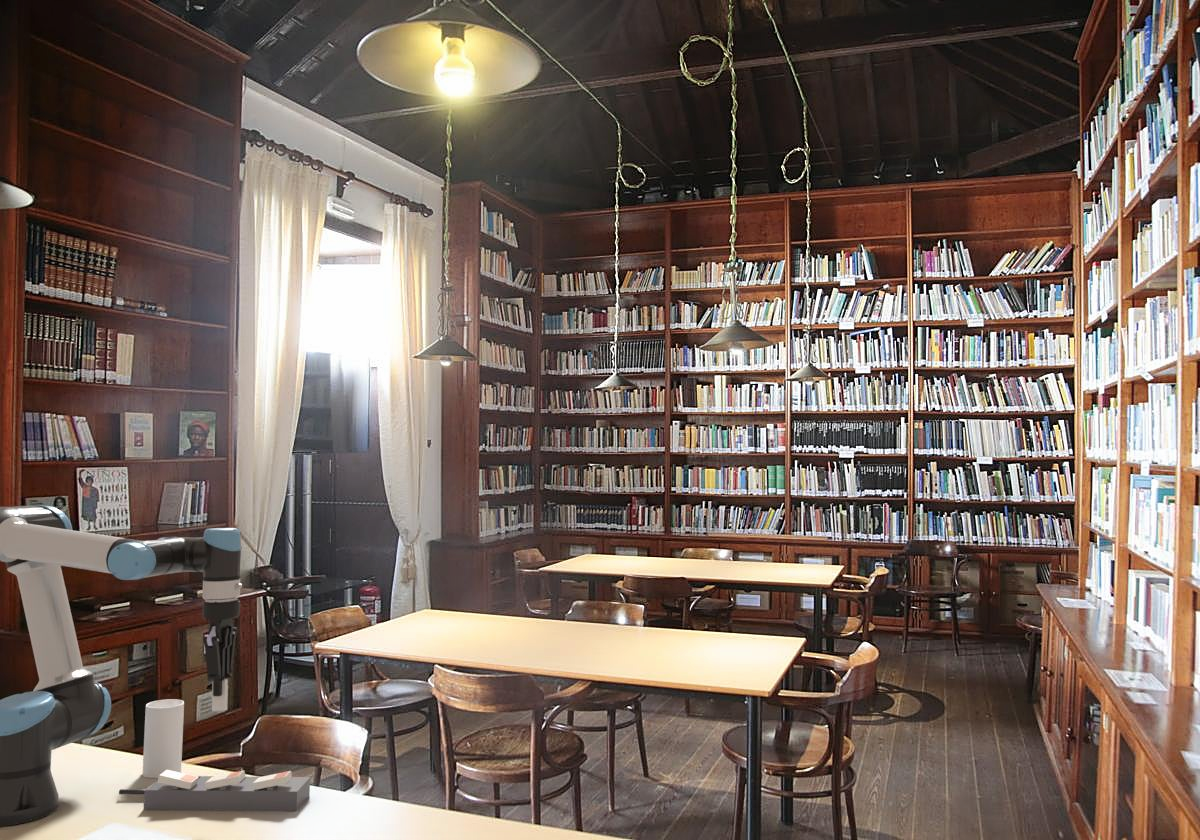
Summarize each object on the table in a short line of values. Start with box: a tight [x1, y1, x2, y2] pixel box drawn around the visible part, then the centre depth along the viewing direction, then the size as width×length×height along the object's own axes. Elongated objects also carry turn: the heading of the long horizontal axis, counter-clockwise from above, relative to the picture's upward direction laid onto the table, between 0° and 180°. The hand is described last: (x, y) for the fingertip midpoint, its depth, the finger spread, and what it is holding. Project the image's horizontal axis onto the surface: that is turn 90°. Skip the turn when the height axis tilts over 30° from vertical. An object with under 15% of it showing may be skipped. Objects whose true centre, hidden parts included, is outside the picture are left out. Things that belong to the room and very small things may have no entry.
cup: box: [142, 698, 185, 779], centre depth 212 cm, size 8×8×16 cm
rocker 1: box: [157, 770, 199, 789], centre depth 191 cm, size 7×4×2 cm, turn 91°
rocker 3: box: [253, 770, 293, 790], centre depth 191 cm, size 7×4×2 cm, turn 92°
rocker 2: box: [205, 770, 246, 790], centre depth 191 cm, size 7×4×2 cm, turn 92°
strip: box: [118, 775, 311, 812], centre depth 193 cm, size 40×9×4 cm, turn 91°
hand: (219, 710), depth 193 cm, fingers closed
